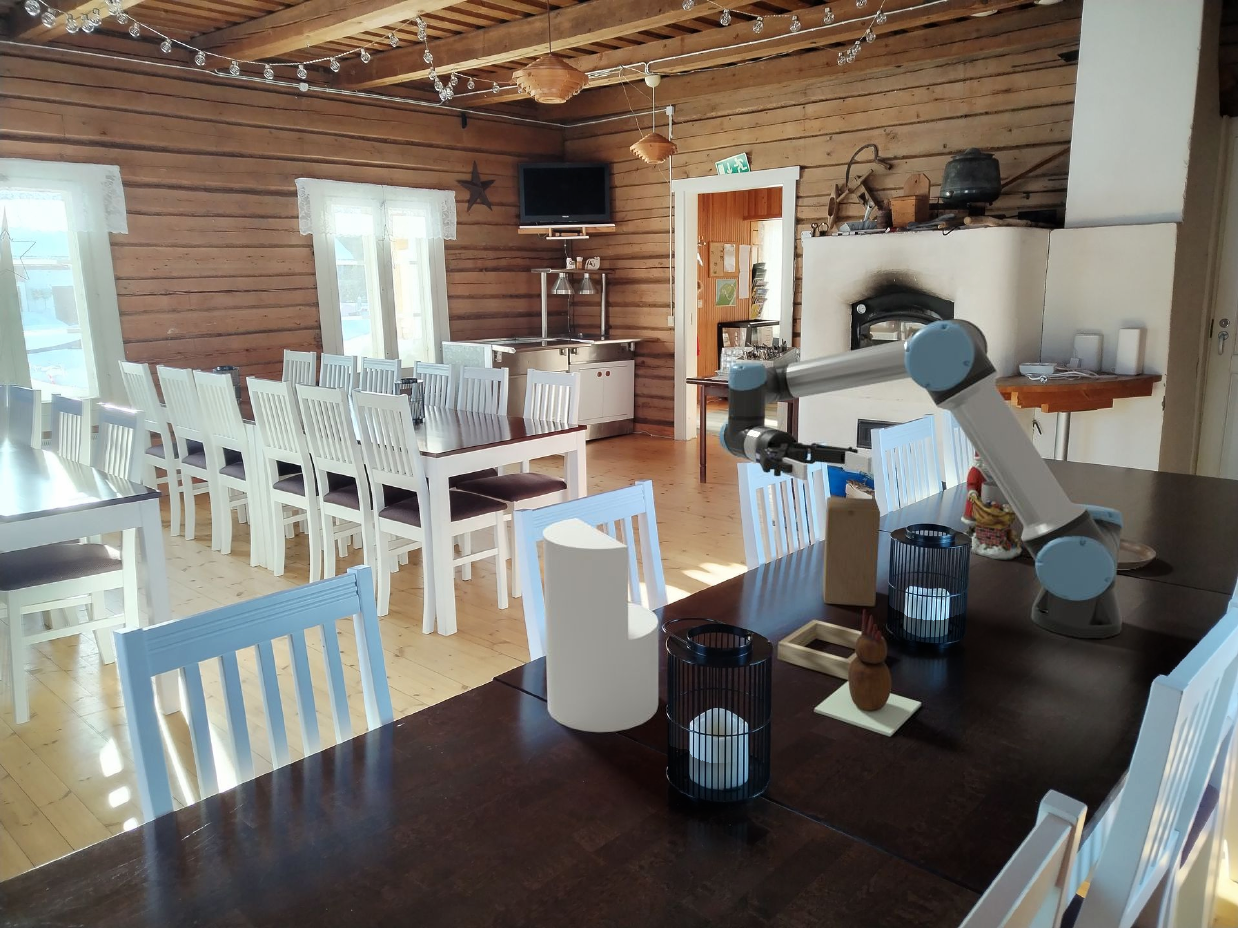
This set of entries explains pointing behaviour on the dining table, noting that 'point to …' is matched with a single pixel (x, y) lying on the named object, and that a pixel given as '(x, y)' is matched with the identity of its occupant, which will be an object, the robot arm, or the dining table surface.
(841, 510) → the wooden block
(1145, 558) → the plant saucer
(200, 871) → the dining table surface
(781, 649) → the pale wood square frame
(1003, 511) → the santa figurine
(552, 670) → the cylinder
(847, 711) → the sage mat
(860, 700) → the wooden figurine
